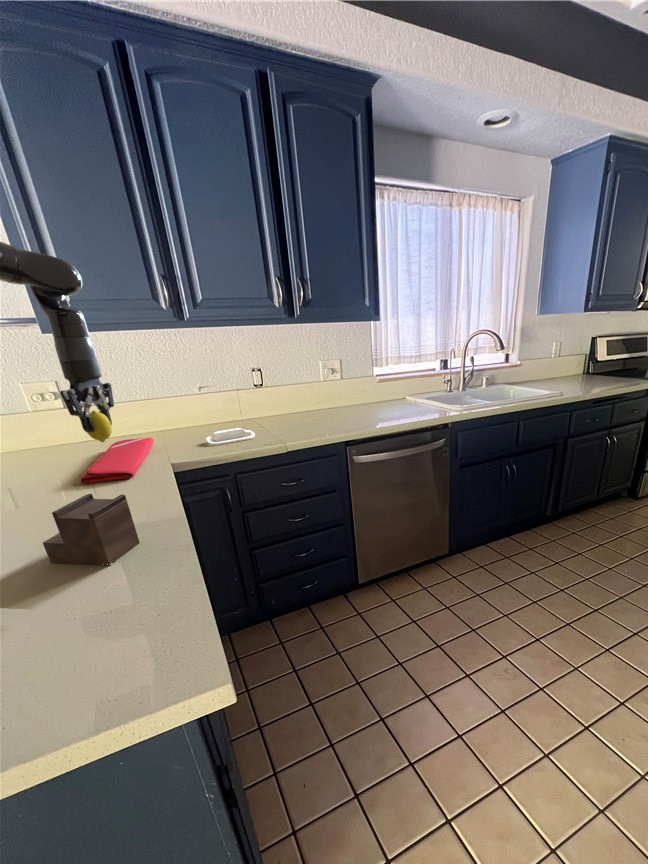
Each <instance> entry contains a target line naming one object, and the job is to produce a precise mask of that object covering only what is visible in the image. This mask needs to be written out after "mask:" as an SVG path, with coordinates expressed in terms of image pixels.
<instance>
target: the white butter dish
mask: <svg viewBox="0 0 648 864" xmlns="http://www.w3.org/2000/svg"><path fill="white" fill-rule="evenodd" d="M246 433H247V434H250V435H249V436H245V434H246ZM255 436H256V434H255V432H254V431H252V430H249V429H243V428H241V427H236V428H231V429H230V428H229V429H224V430H218V431H213V434H212V435H209V436H207V437H206V438H205V442H206V443H207V444H208V445H211V446H219V445H220V446H221V445H226V444H232V443H237V442H242V441H247V440H248V441H249V440H251V439H253V438H255ZM211 439H212V440H213V441H211Z"/></svg>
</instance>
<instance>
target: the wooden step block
mask: <svg viewBox="0 0 648 864" xmlns="http://www.w3.org/2000/svg"><path fill="white" fill-rule="evenodd" d="M51 514H52V517H53V520H54V523H55V525H56V529H57V530H58V533H56V534H54V535H53V536H51V537H50V538H48V539H47V540H44V541H43V542H42V546H43V547H44V550H45V552H46V555H47V557H48V559H49V562H50V564H65V563H67V565H68V564H69V565H87V566H88V565H89V566H100V565H99V564H102V565H101V566H106V565H107V564H108V565H110V564H111V563H113V562H114V561H115V560H117V559H118V558H119V559H121V558H122V557H123V556H124V554H125V553H126V554H127V553H129V552H130V551H131V550H133V549H134V548H135V547H136V546H138V545H139V544H140V540H139V536H138V533H137V532H138V531H137V529H136V526H135V522H134V520H133V516H132V513H131V510H130V506H129V503H128V500H127V497H126V494H119V495H118V496H116V497H114V498H94V496H93V493H86V494H85V495H83V496H81V497H79V498H77V499H75V500H73V501H71V502H69V503H68V504H66V505H63V506H62V507H60V508H58V509H56V510H54V511H52V512H51ZM126 554H125V555H126ZM121 556H122V557H121ZM120 557H121V558H120ZM119 559H118V560H119ZM118 560H117V561H118ZM115 562H116V561H115ZM115 562H114V563H115ZM114 563H113V564H114ZM103 564H104V565H103ZM110 566H111V565H110Z"/></svg>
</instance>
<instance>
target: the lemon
mask: <svg viewBox="0 0 648 864" xmlns="http://www.w3.org/2000/svg"><path fill="white" fill-rule="evenodd" d="M99 412H100V411H96V410H92V411H90V415H89V416H91V419H92V423H93V426H94V429H95V431H94V432H86V433H87V434H88V436H89V437H90V438H91V439H93V440H96V441H99V442H101V443H105V442H106V440H107V439H109V438H110V437H111V435H112V432H113V429H112V425H111V424H110V421H109V420H108V418H107V417H106V416H105V415H104V414H102V413H99Z"/></svg>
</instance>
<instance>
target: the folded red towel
mask: <svg viewBox="0 0 648 864" xmlns="http://www.w3.org/2000/svg"><path fill="white" fill-rule="evenodd" d="M154 441H155V440H154V438H152V437H139V438H130V439H122V440H118V441H115V442H113V443H112V444H110V446H109V447H108V448H107V450H105V451H104V452H103V453H102V454H101V455H100V456H99V457H98V458H97V459H96V461H94V462H93V463H92V464H91V465H90V466H89V467H88V468H87V469H86V471H85V472H86V473H84V475H82V477H81V478H80V480H79V481H80V483H81V484H96V483H102V482H110V481H111V482H112V481H119V480H128V479H132V478H134V476H135V475H136V473H137V471H138V470H139V468H141V466H142V464H143V463H144V461H145V459H146V458H147V456H148V454H149V453H150V451H151V449H152V447H153V444H154V443H155V442H154Z"/></svg>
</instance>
